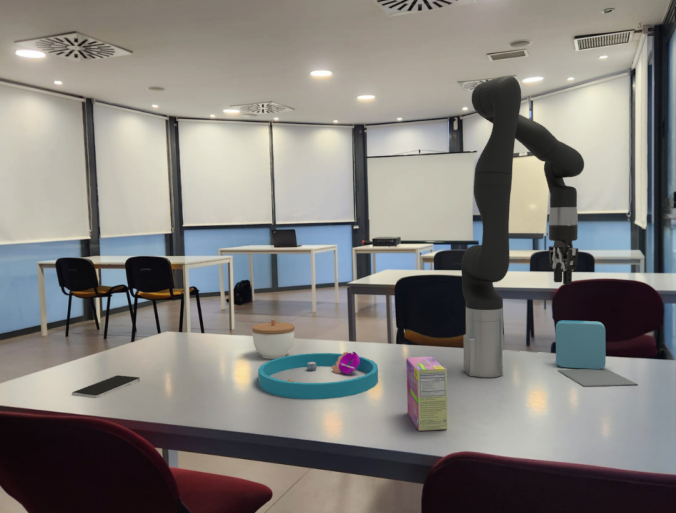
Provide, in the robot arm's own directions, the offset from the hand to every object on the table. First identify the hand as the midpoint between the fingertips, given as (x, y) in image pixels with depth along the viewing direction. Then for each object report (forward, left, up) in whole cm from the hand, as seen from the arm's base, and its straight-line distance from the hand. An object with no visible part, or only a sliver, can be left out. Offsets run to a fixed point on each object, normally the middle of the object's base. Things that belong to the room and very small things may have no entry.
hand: (562, 283), depth 158 cm
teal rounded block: (0, -11, -21) cm, 24 cm away
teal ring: (-70, -16, -22) cm, 75 cm away
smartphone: (-122, -17, -22) cm, 125 cm away
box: (-49, -47, -22) cm, 71 cm away
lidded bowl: (-83, +11, -22) cm, 86 cm away
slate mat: (-1, -21, -21) cm, 30 cm away
